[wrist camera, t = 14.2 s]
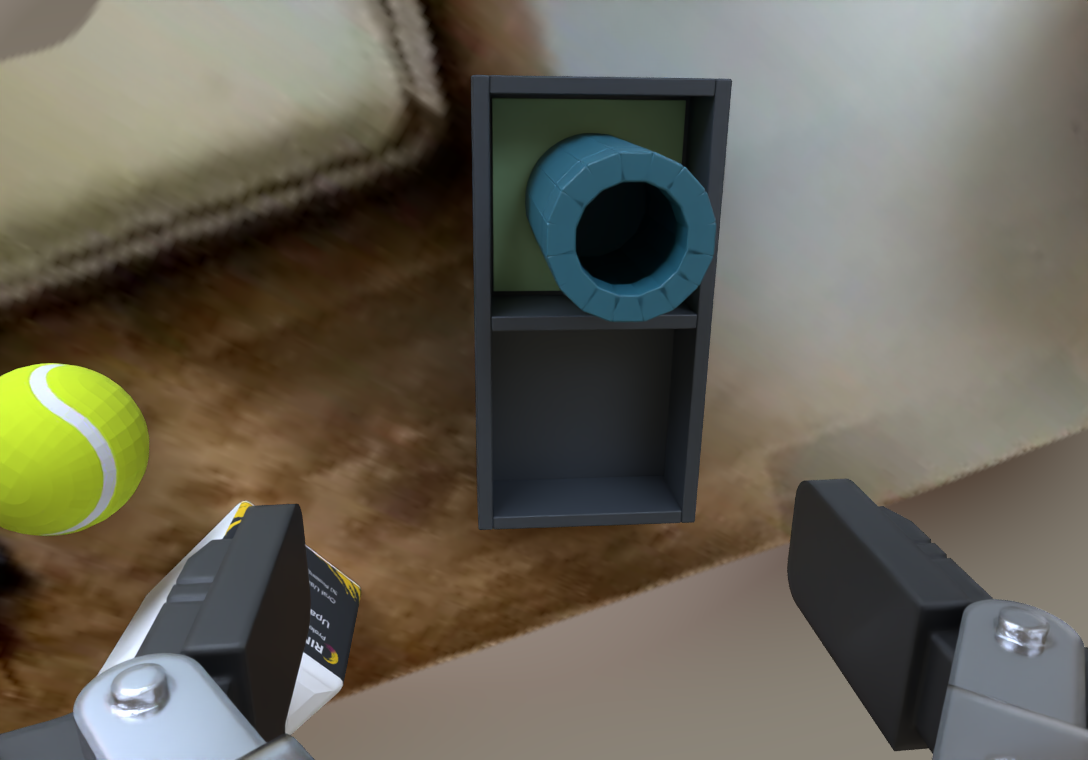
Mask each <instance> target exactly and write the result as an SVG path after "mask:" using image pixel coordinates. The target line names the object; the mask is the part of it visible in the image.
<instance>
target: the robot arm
mask: <svg viewBox="0 0 1088 760" xmlns="http://www.w3.org/2000/svg"><path fill="white" fill-rule="evenodd" d="M787 569H788V570H787V572H788V581H789V587H790V590H791V594H792V597H793V599H794V601H795V603H796V605H797V606H798V608H799V609H800V611H801V612H802V613H803V615H804V617H805V618H806V620H807V621H808V622H809V624H810V625H811V627H812V629H813V630H814V632H815V633H816V635H817V636H818V638H819V639H820V641H821V642H822V644H823V645H824V646H825V648H826V650H827V651H828V653H829V654H830V656H831V657H832V658H833V660H834V661H835V663H836V664H837V666H838V667H839V669H840V671H841V672H842V674H843V675H844V677H845V678H846V679H847V681H848V683H849V684H850V685H851V687H852V689H853V690H854V692H855V693H856V695H857V696H858V698H859V699H860V701H861V702H862V704H863V705H864V706H865V708H866V709H867V711H868V713H869V714H870V716H871V717H872V719H873V720H874V721H875V723H876V724H877V726H878V728H879V729H880V731H881V732H882V734H883V735H884V736H885V738H886V740H887V741H888V743H889V744H890V745H891V747H892V748H893V750H894V751H901V750H914V749H926V748H929V749H930V750H931V752H932V753H933V758H932V760H1088V648H1087V647H1084V644H1083V641H1082V639H1081V638H1080V636H1079V635H1078V634H1077V633H1076V631H1075V630H1074V629H1072V628H1071V627H1070V626H1069V625H1068V624H1067V623H1065V622H1064V621H1062V620H1061V619H1059V618H1057V617H1056V616H1054V615H1052V614H1050V613H1048V612H1046V611H1044V610H1041V609H1039V608H1036V607H1034V606H1030V605H1027V604H1024V603H1019V602H1015V601H1008V600H999V599H993V598H992V597H991V596H990V595H989V594H988V593H987V592H986V591H985V590H984V589H983V588H981V587H980V586H979V585H978V584H977V583H976V582H975V581H974V580H973V579H972V578H971V577H970V576H969V575H968V574H967V573H966V572H965V571H964V570H962V569H961V568H960V567H959V566H958V565H957V564H956V563H955V562H954V561H953V560H952V559H951V558H947V556H946V553H944V552H943V551H942V550H941V549H940V548H939V547H938V546H937V545H936V544H935V543H931V539H930V538H929V537H928V536H927V535H926V534H924V532H922V531H921V530H920V529H919V528H918V527H917V526H916V525H915V524H914V523H913V522H912V521H910V520H908V519H906V518H904V517H903V516H901V515H899V514H897V513H895V512H893V511H891V510H889V509H887V508H885V507H884V506H880V507H878V506H877V505H876V504H875V503H874V502H873V501H872V500H871V499H870V498H869V497H868V496H867V495H866V494H865V493H864V492H863V491H862V490H861V489H860V488H859V487H858V486H857V485H856V484H855V483H854V482H853V481H851V480H849V479H830V480H809V481H802V482H801V483H800V485H799V486H798V489H797V492H796V497H795V505H794V514H793V522H792V531H791V539H790V548H789V556H788V567H787ZM310 614H311V595H310V584H309V574H308V565H307V555H306V546H305V537H304V527H303V519H302V512H301V509H300V506H299V504H282V505H261V506H249V507H248V508H247V509H246V511H245V513H244V516H243V518H242V520H241V522H240V524H239V526H238V528H237V530H236V533H235V535H234V537H233V539H215V540H211V541H210V542H209V543H207V544H206V545H205V546H204V547H202V548H201V549H200V550H198V551H197V552H196V553H195V554H193V555H192V556H191V557H190V558H188V560H187V561H186V563H185V565H184V567H183V569H182V571H181V572H180V574H179V576H178V578H177V580H176V585H173V587H172V589H171V591H170V593H169V595H168V596H167V602H166V603H164V604H163V606H162V607H161V609H160V611H159V613H158V615H157V617H156V619H155V620H154V622H153V624H152V626H151V628H150V630H149V631H148V633H147V635H146V637H145V639H144V641H143V642H142V644H141V646H140V648H139V650H138V652H137V654H136V655H135V657H134V658H132V659H129V660H127V661H124V662H122V663H119V664H117V665H115V666H113V667H111V668H109V669H107V670H106V671H104V672H102V673H101V674H99V675H98V676H97V677H95V678H94V679H93V680H92V681H90V682H89V683H88V684H87V685H86V686H85V687H84V689H83V690H82V691H81V692H80V694H79V695H78V697H77V699H76V701H75V704H74V708H73V712H72V713H70V714H67V715H65V716H62V717H59V718H56V719H53V720H50V721H46V722H43V723H39V724H35V725H32V726H28V727H25V728H21V729H17V730H14V731H10V732H7V733H3V734H0V760H314V758H313V757H311V755H310V754H309V753H308V752H307V751H306V750H305V748H304V747H303V746H302V745H301V744H300V743H299V742H298V741H297V740H296V739H295V738H294V737H292V736H291V735H289V734H287V733H283V731H284V727H285V723H286V719H287V715H288V711H289V707H290V703H291V699H292V695H293V691H294V687H295V684H296V680H297V676H298V672H299V668H300V664H301V660H302V656H303V652H304V648H305V644H306V640H307V636H308V631H309V625H310Z"/></svg>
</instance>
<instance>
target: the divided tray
mask: <svg viewBox="0 0 1088 760" xmlns="http://www.w3.org/2000/svg"><path fill="white" fill-rule="evenodd" d="M731 87H732V80H731V79H705V78H639V77H572V76H506V75H490V76H488V75H473V76H471V128H472V194H473V260H474V326H475V391H476V457H477V501H478V527H479V530H491V529H519V528H548V527H576V526H604V525H633V524H661V523H680V522H682V523H689V522H694V521H695V512H696V500H697V488H698V476H699V464H700V453H701V441H702V429H703V417H704V405H705V394H706V382H707V370H708V358H709V346H710V335H711V323H712V311H713V299H714V287H715V276H716V264H717V252H718V240H719V228H720V217H721V205H722V193H723V181H724V169H725V158H726V146H727V134H728V122H729V110H730V99H731ZM583 133H599V134H608V135H611V136H614V137H616V138H619V139H622V140H624V141H627V142H630V143H633V144H635V145H638V146H641V147H643V148H646V149H648V150H651V151H654V152H656V153H659V154H661V155H663V156H665V157H667V158H670V159H672V160H674V161H676V162H678V163H681V164H682V165H683V166H684V167H686V168H687V169H688V170H689V171H690V172H691V174H692V175H693V176H694V177H695V178H696V179H697V180H698V181H699V183H700V184H701V185H702V186H703V187H704V189H705V191H706V192H707V194H708V197H709V200H710V203H711V207H712V210H713V213H714V216H715V219H716V222H715V223H716V236H715V248H714V255H713V259H712V261H711V263H710V265H709V267H708V269H707V271H706V273H705V275H704V277H703V279H702V281H701V284H700V285H699V286H698V288H697V289H696V290H695V291H694V292H693V293H692V294H690V295H689V296H688V297H687V298H686V299H685V300H684V301H683V302H682V303H681V304H680V305H679V306H678V307H677V308H675V309H674V310H672V311H670V312H668V313H665V314H663V315H660V316H658V317H655V318H653V319H650V320H648V321H645V322H644V321H642V322H612V321H611V322H609V321H606V320H604V319H601V318H599V317H596V316H594V315H591V314H589V313H586V312H584V311H582V310H581V309H579V308H578V307H577V306H576V305H575V304H574V303H573V302H572V301H571V300H570V299H569V298H568V297H567V296H566V295H565V294H564V293H563V292H562V291H561V290H560V289H559V287H558V285H557V284H556V281H555V279H554V277H553V275H552V273H551V271H550V269H549V267H548V264H547V262H546V260H545V258H544V256H543V254H542V252H541V249H540V247H539V245H538V243H537V241H536V239H535V236H534V234H533V231H532V229H531V227H530V224H529V222H528V219H527V217H526V209H525V193H526V187H527V182H528V179H529V176H530V174H531V172H532V170H533V168H534V166H535V164H536V163H537V161H538V160H539V159H540V157H541V156H542V155H543V154H544V153H545V152H546V151H547V150H548V149H549V148H550V147H552V146H553V145H555V144H556V143H557V142H559V141H561V140H563V139H565V138H567V137H570V136H573V135H577V134H583Z"/></svg>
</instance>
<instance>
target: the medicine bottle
mask: <svg viewBox="0 0 1088 760" xmlns="http://www.w3.org/2000/svg"><path fill="white" fill-rule="evenodd" d="M249 506H254V505H253V504H252V503H251V502H248V501H242V502H241V503H239V504H238V505H237V506H236V507H235V508H234V509H233V510H232V511H231V512H230V513H229V514H228V515H227V516H226V517H225V518H224V519H223V520H222V521H221V522H220V523H219V524H218V525H217V526H216V527H215V528H214V529H212V530H211V531H210V532H209V533H208V534H207V535H206V536H205V537H204V538H203V539H202V540H201V541H200V542H199V543H198V544H197V545H196V546H195V547H194V548H193V549H192V550H191V551H190V552H189V553H188V554H187V555H186V556H185V557H184V558H183V559H182V560H181V561H180V562H179V563H178V564H177V565H176V566H175V567H174V568H173V569H172V570H171V571H170V572H169V573H168V574H167V575H166V576H165V577H164V578H163V579H162V580H161V581H160V582H159V583H158V584H157V585H156V586H155V587H154V588H153V589H152V590H151V591H150V592H149V593H148V594H147V595H146V597H145V599H144V600H143V602H142V604H141V605H140V607H139V609H138V610H137V612H136V613H135V615H134V617H133V618H132V620H131V622H130V623H129V625H128V626H127V628H126V630H125V631H124V633H123V635H122V636H121V638H120V639H119V641H118V643H117V644H116V646H115V648H114V649H113V651H112V652H111V654H110V656H109V657H108V659H107V661H106V662H105V664H104V666H103V667H102V669H101V670H100V672H99V674H101V673H102V672H104V671H106V670H107V669H109V668H111V667H113V666H115V665H117V664H119V663H122V662H124V661H127V660H129V659H132V658H134V657H135V655H136V654H137V652H138V650H139V648H140V646H141V644H142V642H143V641H144V639H145V637H146V635H147V633H148V631H149V630H150V628H151V626H152V624H153V622H154V620H155V619H156V617H157V615H158V613H159V611H160V609H161V607H162V606H163V604H164V603H166V602H167V596H168V595H169V593H170V591H171V589H172V587H173V585H176V580H177V578H178V576H179V574H180V572H181V571H182V569H183V567H184V565H185V563H186V561H187V560H188V558H190V557H191V556H192V555H193V554H195V553H196V552H197V551H198V550H200V549H201V548H202V547H204V546H205V545H206V544H207V543H209V542H210V541H211V540H215V539H233V537H234V535H235V533H236V530H237V528H238V526H239V524H240V522H241V520H242V518H243V516H244V513H245V511H246V509H247V508H248V507H249ZM305 546H306V555H307V565H308V574H309V584H310V595H311V614H310V625H309V631H308V636H307V640H306V644H305V648H304V652H303V656H302V660H301V664H300V668H299V672H298V676H297V680H296V684H295V687H294V691H293V695H292V699H291V703H290V707H289V711H288V715H287V719H286V723H285V727H284V731H283V733H287V734H289V735H292V734H293V733H294V732H295V731H296V730H297V729H298V728H300V727H301V726H302V725H303V724H304V723H305V722H306V721H307V720H308V719H309V718H310V717H311V716H313V715H314V714H315V713H316V712H317V711H318V710H319V709H321V708H322V707H323V706H324V705H325V704H326V703H327V702H328V701H329V700H330V699H332V698H333V697H334V696H335V695H336V694H337V693H338V692H339V691H340V690H341V688H342V686H343V683H344V678H345V673H346V668H347V663H348V658H349V653H350V648H351V642H352V637H353V632H354V627H355V622H356V617H357V612H358V607H359V602H360V597H361V588H360V587H359V585H358V584H356V583H355V582H354V581H352V580H351V579H350V578H348V577H347V576H346V575H344V574H343V573H342V572H341V571H339V570H338V569H337V568H335V567H334V566H333V565H331V564H330V563H329V562H328V561H326V560H325V559H324V558H322V557H321V556H320V555H318V554H317V553H316V552H314V551H313V550H312V549H311V548H309V547H308V546H307V545H305ZM99 674H98V675H99ZM98 675H97V676H98Z"/></svg>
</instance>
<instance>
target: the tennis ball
mask: <svg viewBox="0 0 1088 760" xmlns="http://www.w3.org/2000/svg"><path fill="white" fill-rule="evenodd" d="M148 459H149V434H148V430H147V425H146V422H145V420H144V418H143V415H142V413H141V411H140V409H139V408H138V406H137V405H136V404H135V402H134V401H133V399H132V398H131V397H130V396H129V395H128V394H127V393H126V392H125V391H124V390H123V389H122V388H121V387H120V386H119V385H117V384H116V383H115V382H113V381H112V380H110V379H109V378H107V377H106V376H104V375H102V374H100V373H97V372H95V371H93V370H90V369H87V368H83V367H79V366H71V365H66V364H57V363H49V364H37V365H32V366H27V367H23V368H19V369H15V370H13V371H11V372H9V373H7V374H5V375H2V376H0V527H3V528H5V529H7V530H10V531H14V532H18V533H22V534H29V535H39V536H55V535H66V534H70V533H74V532H78V531H82V530H84V529H86V528H89V527H91V526H93V525H95V524H97V523H99V522H102V521H104V520H106V519H107V518H108V517H110V516H111V515H112V514H114V513H115V512H116V511H118V510H119V509H120V508H121V507H122V506H123V505H124V504H125V503H126V502H127V501H128V500H129V498H130V497H131V496H132V495H133V494H134V492H135V491H136V489H137V487H138V485H139V483H140V481H141V479H142V477H143V475H144V473H145V471H146V467H147V463H148Z"/></svg>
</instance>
